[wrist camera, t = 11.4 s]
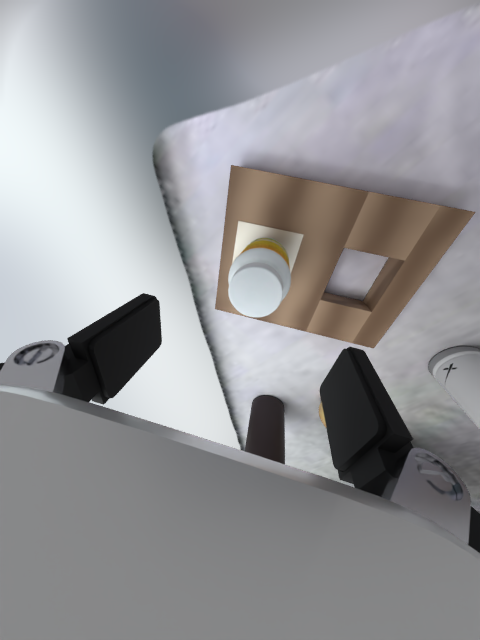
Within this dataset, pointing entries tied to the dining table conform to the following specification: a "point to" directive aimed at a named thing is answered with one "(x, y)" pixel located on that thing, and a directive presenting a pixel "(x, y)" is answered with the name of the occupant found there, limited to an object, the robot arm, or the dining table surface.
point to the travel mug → (460, 377)
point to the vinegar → (267, 429)
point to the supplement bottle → (259, 278)
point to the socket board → (335, 248)
